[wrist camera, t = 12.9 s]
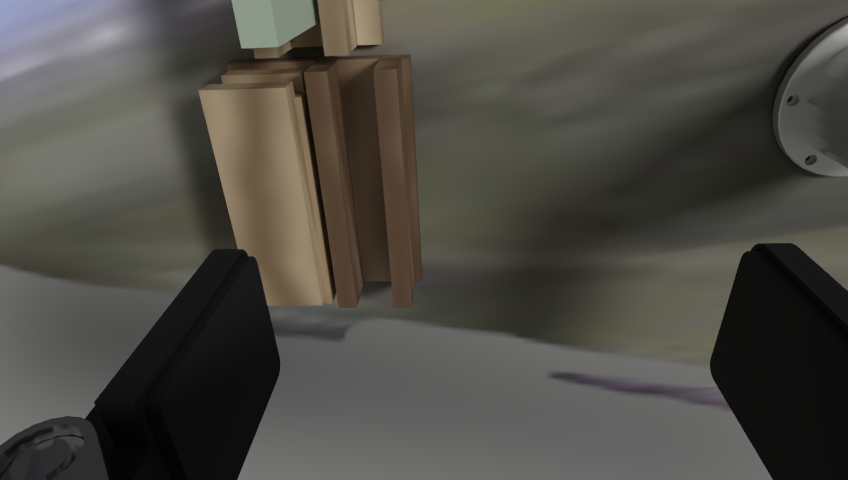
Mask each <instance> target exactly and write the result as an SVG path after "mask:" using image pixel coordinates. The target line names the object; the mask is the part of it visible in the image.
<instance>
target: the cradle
mask: <svg viewBox="0 0 848 480" xmlns="http://www.w3.org/2000/svg"><path fill="white" fill-rule="evenodd" d="M317 1H318V8H319V16H320V22H319V23H318V24H316V25H314V26H313V27H311V28H309V29H308V30H306V31H304V32H303V33H301V34H299V35H298V36H296V37H294V38H293V39H291V40H289V41H288V42H286V43H285V44H283V45H281V46H280V47H267V48H249V49H253V51H254V56H255V59H257V58H279V57H280V56H282V55H283V54H285V53H286V52H288V51H289V50H291V49H292V48H294V47H321V46H323V47H324V55H325V56H346V55H349V54H350V53H351V52H352V51H353V50H354V49H355V47H356V46H357V45H378V44H382V43H383V42H384V39H383V26H382V13H381V0H317Z"/></svg>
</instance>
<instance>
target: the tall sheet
mask: <svg viewBox="0 0 848 480" xmlns="http://www.w3.org/2000/svg"><path fill="white" fill-rule="evenodd" d="M231 1H232V5H233V10H234V15H235V20H236V25H237V30H238V34H239V39H240V44H241V49H243V48H267V47H280V46H281V45H283V44H285V43H286V42H288V41H289V40H291V39H293V38H294V37H296V36H298V35H299V34H301V33H303V32H304V31H306V30H308V29H309V28H311V27H313V26H314V25H316V24H318V23H319V22H320V16H319V8H318V1H317V0H231Z"/></svg>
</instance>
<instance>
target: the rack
mask: <svg viewBox="0 0 848 480" xmlns="http://www.w3.org/2000/svg"><path fill="white" fill-rule="evenodd" d="M226 66H227V71H228V72H226V73H225V74H223V75H221V78H222V83H223V84H209V85H207V86H205V87H204V88H202V89H200V90H198V91H199V95H200V99H201V103H202V107H203V111H204V115H205V119H206V123H207V127H208V131H209V135H210V139H211V143H212V148H213V152H214V156H215V160H216V164H217V168H218V172H219V176H220V180H221V184H222V188H223V192H224V196H225V200H226V204H227V208H228V212H229V216H230V220H231V224H232V228H233V232H234V236H235V240H236V244H237V248H238V249H243V250H245V251H246V252H247V254H248V256H253V257H255V258H256V260H257V263H258V267H259V271H260V276H261V280H262V284H263V289H264V293H265V297H266V301H267V306H277V305H322V304H323V303H333V301H334V298H335V295H336V292H337V299H338V306H339V308H357V306H358V302H359V298H360V294H361V290H362V287H363V283H364V282H391V284H392V295H393V307H412V303H413V294H414V285H415V281H421V280H422V265H421V245H420V226H419V206H418V187H417V167H416V147H415V128H414V108H413V89H412V69H411V55H383V56H354V57H324V58H295V59H265V60H236V61H230V62H228V63H226Z"/></svg>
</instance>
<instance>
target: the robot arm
mask: <svg viewBox="0 0 848 480" xmlns="http://www.w3.org/2000/svg"><path fill="white" fill-rule="evenodd" d="M788 98H789V99H788ZM787 99H788V100H787ZM772 119H773V131H774V134H775V137H776V140H777V143H778V145H779V147H780V148H781V150H782V151H783V153H784V154H785V155H786V156H787V157H788V158H789V159H790V160H792V161H793V162H794V163H795V164H797V165H798V166H800V167H801V168H803V169H805V170H807V171H810V172H813V173H815V174H818V175H824V176H830V177H848V17H847V18H846V19H844V20H842V21H840V22H839V23H837V24H835V25H833V26H832V27H830V28H829V29H827V30H826V31H825V32H824V33H822V34H821V35H820V36H818V37H817V38H816V39H815V40H813V41H812V42H811V43H810V44H809V45H808V46H807V48H806V49H805V50H804V51H803V52H802V53H801V54H800V55H799V56H798V57H797V59H796V60H795V61H794V63H793V64H792V65H791V67H790V68H789V70H788V71H787V73H786V75H785V77H784V79H783V81H782V83H781V84H780V87H779V90H778V93H777V96H776V98H775V101H774V108H773V116H772ZM710 369H711V374H712V377H713V379H714V381H715V383H716V384H717V386H718V388H719V390H720V391H721V393H722V395H723V396H724V398H725V400H726V401H727V403H728V405H729V406H730V408H731V410H732V411H733V413H734V415H735V416H736V418H737V420H738V421H739V423H740V425H741V427H742V428H743V430H744V432H745V433H746V435H747V437H748V438H749V440H750V442H751V443H752V445H753V447H754V448H755V450H756V452H757V453H758V455H759V457H760V459H761V460H762V462H763V464H764V465H765V467H766V469H767V470H768V472H769V474H770V475H771V477H772V479H773V480H848V291H847V290H846V289H845V288H843V287H842V286H841V285H840V284H839V283H838V282H837V281H836V280H834V279H833V278H832V277H831V276H830V275H829V274H828V273H827V272H825V271H824V270H823V269H822V268H821V267H820V266H819V265H818V264H816V263H815V262H814V261H813V260H812V259H811V258H810V257H809V256H807V255H806V254H805V253H804V252H803V251H802V250H801V249H800V248H798V247H797V246H796V245H794V244H790V243H771V244H757V245H755V246H754V247H753V248H752V249H751V251H747V252H745V253H744V254H743V255H742V257H741V260H740V263H739V267H738V270H737V273H736V277H735V280H734V283H733V287H732V290H731V293H730V297H729V300H728V303H727V307H726V310H725V313H724V317H723V320H722V323H721V327H720V330H719V333H718V337H717V340H716V343H715V347H714V350H713V353H712V357H711V361H710ZM279 371H280V358H279V353H278V349H277V345H276V340H275V336H274V332H273V327H272V323H271V319H270V314H269V310H268V306H267V301H266V297H265V293H264V289H263V284H262V280H261V276H260V271H259V267H258V263H257V260H256V258H255V257H253V256H248V254H247V252H246V251H245V250H243V249H219V250H213V251H212V252H211V253H210V254H209V256H208V257H207V258H206V259H205V261H204V262H203V263H202V265H201V266H200V267H199V268H198V270H197V271H196V272H195V274H194V275H193V276H192V277H191V279H190V280H189V281H188V283H187V284H186V285H185V286H184V288H183V289H182V290H181V292H180V293H179V294H178V295H177V297H176V298H175V299H174V300H173V302H172V303H171V304H170V306H169V307H168V308H167V309H166V311H165V312H164V313H163V315H162V316H161V317H160V318H159V320H158V321H157V322H156V324H155V325H154V326H153V328H152V329H151V330H150V331H149V333H148V334H147V335H146V337H145V338H144V339H143V340H142V342H141V343H140V344H139V345H138V347H137V348H136V349H135V351H134V352H133V353H132V354H131V356H130V357H129V358H128V360H127V361H126V362H125V363H124V365H123V366H122V367H121V369H120V370H119V371H118V372H117V374H116V375H115V376H114V378H113V379H112V380H111V381H110V383H109V384H108V385H107V386H106V388H105V389H104V390H103V392H102V393H101V394H100V395H99V397H98V398H97V399H96V401H95V402H94V403H95V407H94V408H93V409H92V410H91V412H90V413H89V414H88V416H87V417H86V418H85V419H83V418H81V417H70V416H66V417H60V418H53V419H49V420H46V421H43V422H41V423H38V424H35V425H33V426H31V427H29V428H27V429H25V430H23V431H21V432H19V433H17V434H16V435H14V436H13V437H11V438H10V439H9V440H7V441H6V442H4V443H3V444H2V445H0V480H237V478H238V476H239V474H240V471H241V469H242V466H243V463H244V461H245V459H246V456H247V454H248V451H249V449H250V446H251V444H252V441H253V439H254V436H255V434H256V431H257V428H258V426H259V424H260V421H261V419H262V416H263V414H264V411H265V409H266V406H267V404H268V401H269V399H270V396H271V394H272V391H273V389H274V387H275V384H276V381H277V379H278V376H279Z"/></svg>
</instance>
